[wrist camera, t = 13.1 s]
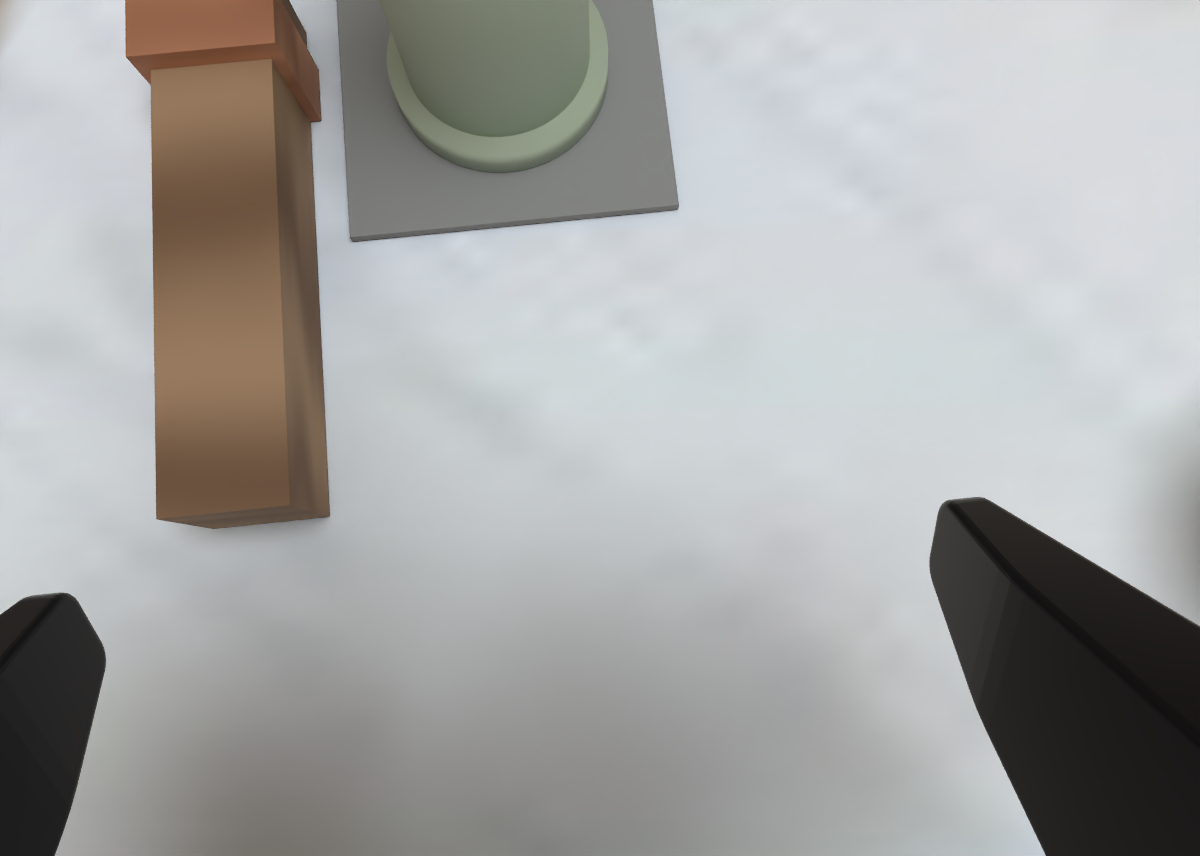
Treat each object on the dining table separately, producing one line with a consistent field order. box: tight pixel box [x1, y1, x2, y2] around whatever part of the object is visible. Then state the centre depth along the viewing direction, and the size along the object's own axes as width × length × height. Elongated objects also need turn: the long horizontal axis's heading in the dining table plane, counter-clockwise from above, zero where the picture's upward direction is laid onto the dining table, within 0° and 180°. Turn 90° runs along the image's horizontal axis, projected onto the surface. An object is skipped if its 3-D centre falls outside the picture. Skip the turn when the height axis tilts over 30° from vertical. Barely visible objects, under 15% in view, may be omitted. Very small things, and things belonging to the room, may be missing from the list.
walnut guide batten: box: [125, 0, 330, 529], centre depth 22 cm, size 14×4×4 cm, turn 6°
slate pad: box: [337, 0, 679, 242], centre depth 25 cm, size 9×9×1 cm
